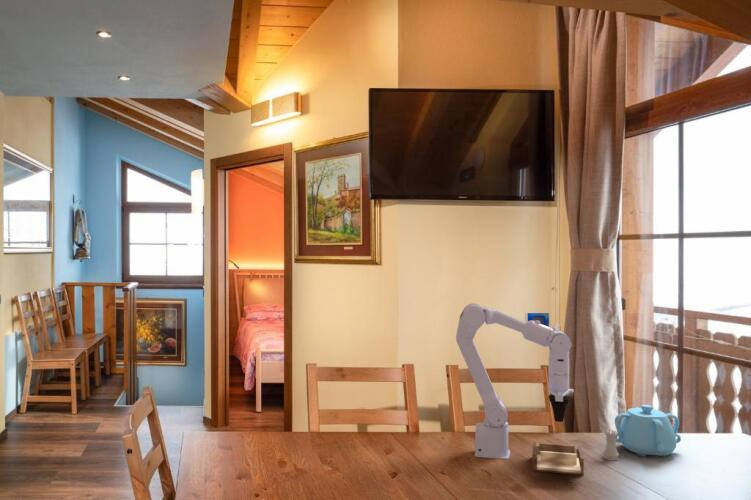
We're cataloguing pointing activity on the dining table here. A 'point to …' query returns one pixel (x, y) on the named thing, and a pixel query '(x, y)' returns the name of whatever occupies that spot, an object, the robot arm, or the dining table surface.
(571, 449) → the box
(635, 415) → the decorative pot
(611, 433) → the rook chess piece
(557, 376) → the robot arm
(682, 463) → the dining table surface
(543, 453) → the lid
